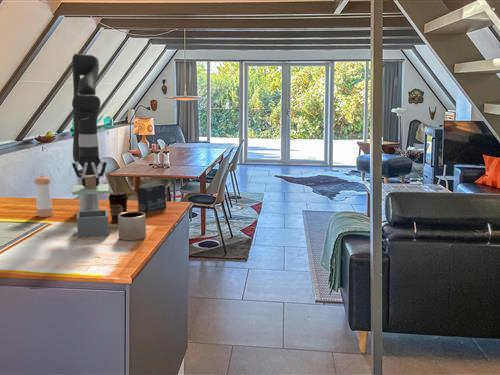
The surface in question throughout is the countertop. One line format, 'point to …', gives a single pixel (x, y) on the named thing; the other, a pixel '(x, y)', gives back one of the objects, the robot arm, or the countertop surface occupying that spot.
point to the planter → (131, 226)
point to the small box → (151, 197)
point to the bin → (92, 223)
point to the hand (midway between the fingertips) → (90, 186)
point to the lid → (90, 187)
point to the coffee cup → (117, 204)
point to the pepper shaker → (43, 197)
